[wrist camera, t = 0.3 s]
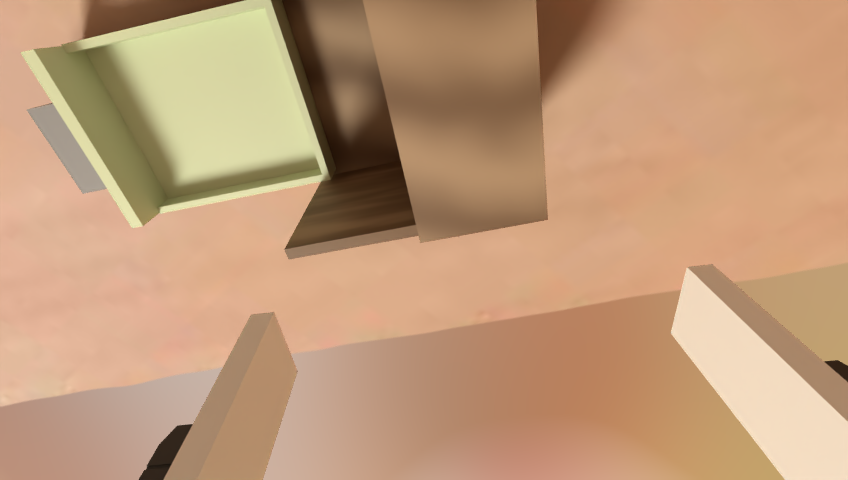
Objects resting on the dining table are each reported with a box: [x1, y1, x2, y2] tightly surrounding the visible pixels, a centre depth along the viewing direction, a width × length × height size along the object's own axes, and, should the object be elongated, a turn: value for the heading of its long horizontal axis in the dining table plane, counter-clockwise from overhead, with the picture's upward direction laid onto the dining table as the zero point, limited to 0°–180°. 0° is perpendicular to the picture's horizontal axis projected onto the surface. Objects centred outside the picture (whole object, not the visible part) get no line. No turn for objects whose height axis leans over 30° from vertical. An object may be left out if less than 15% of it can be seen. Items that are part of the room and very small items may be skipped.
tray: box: [20, 0, 336, 228], centre depth 33 cm, size 14×20×5 cm
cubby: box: [282, 0, 548, 259], centre depth 28 cm, size 17×17×15 cm
